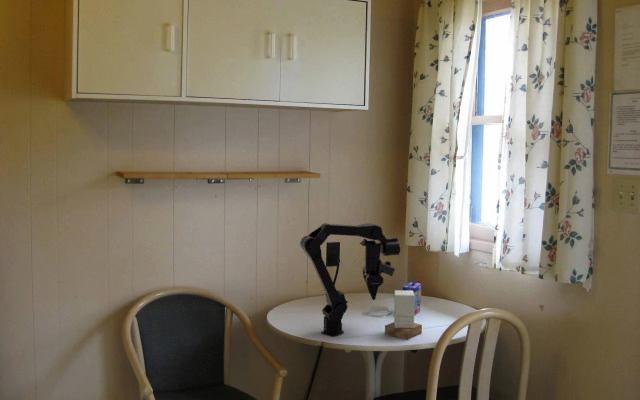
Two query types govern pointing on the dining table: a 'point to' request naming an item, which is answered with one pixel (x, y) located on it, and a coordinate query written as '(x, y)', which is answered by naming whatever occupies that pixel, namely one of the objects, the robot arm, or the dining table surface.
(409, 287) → the ink cartridge box
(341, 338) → the dining table surface
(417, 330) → the walnut block
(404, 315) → the supplement box
